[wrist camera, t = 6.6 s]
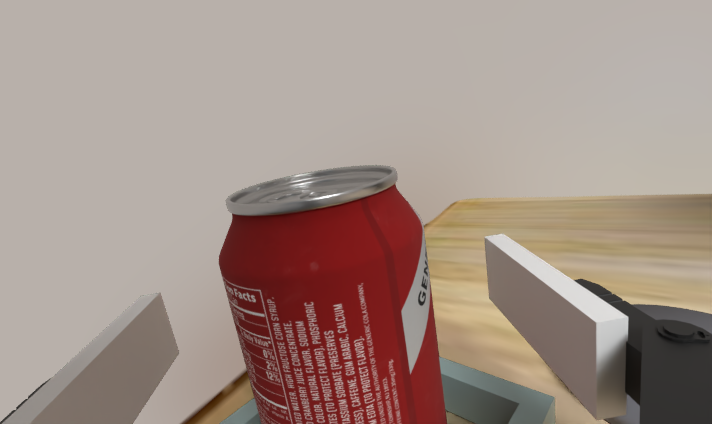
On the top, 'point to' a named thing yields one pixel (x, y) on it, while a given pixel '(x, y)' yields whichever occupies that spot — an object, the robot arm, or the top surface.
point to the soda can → (333, 300)
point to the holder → (467, 399)
